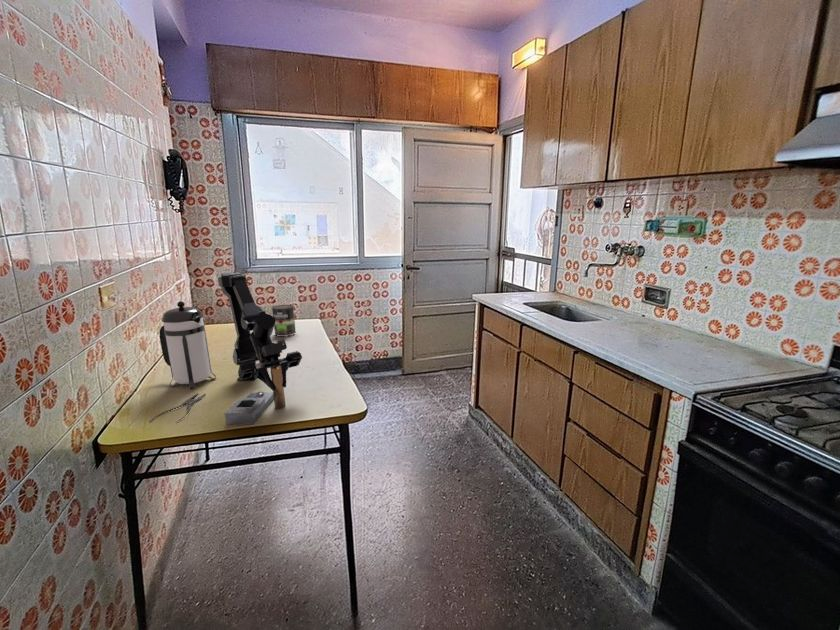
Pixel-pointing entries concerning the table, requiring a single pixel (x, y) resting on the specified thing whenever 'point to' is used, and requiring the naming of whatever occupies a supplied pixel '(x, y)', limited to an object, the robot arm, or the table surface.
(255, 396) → the gray remote-style box
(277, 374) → the pin
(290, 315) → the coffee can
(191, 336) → the coffee press
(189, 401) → the pliers
